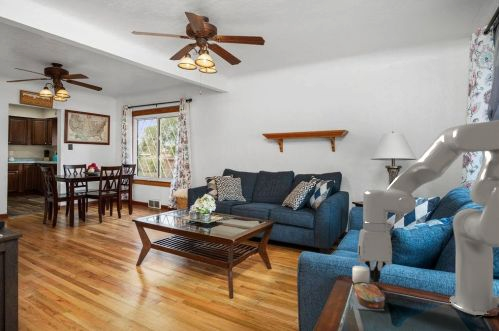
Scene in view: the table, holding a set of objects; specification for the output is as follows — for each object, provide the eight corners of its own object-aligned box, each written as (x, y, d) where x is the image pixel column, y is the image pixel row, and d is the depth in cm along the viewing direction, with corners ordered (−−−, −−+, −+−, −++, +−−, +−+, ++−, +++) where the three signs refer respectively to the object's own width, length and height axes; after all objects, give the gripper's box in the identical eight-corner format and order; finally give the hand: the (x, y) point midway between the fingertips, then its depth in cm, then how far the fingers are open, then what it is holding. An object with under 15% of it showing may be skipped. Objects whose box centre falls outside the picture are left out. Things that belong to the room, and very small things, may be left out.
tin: (388, 302, 91) (360, 298, 92) (387, 312, 91) (359, 308, 92) (375, 282, 105) (351, 279, 107) (374, 291, 106) (350, 288, 107)
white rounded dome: (366, 281, 114) (366, 266, 114) (371, 287, 108) (371, 271, 108) (350, 280, 115) (350, 265, 114) (354, 287, 109) (354, 271, 109)
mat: (370, 291, 105) (370, 290, 105) (384, 310, 91) (384, 309, 91) (347, 290, 106) (347, 289, 106) (358, 309, 92) (358, 308, 92)
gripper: (393, 224, 101) (393, 277, 101) (349, 224, 102) (349, 275, 103) (402, 229, 94) (402, 286, 94) (355, 228, 95) (354, 284, 95)
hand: (374, 280), depth 98 cm, fingers closed
